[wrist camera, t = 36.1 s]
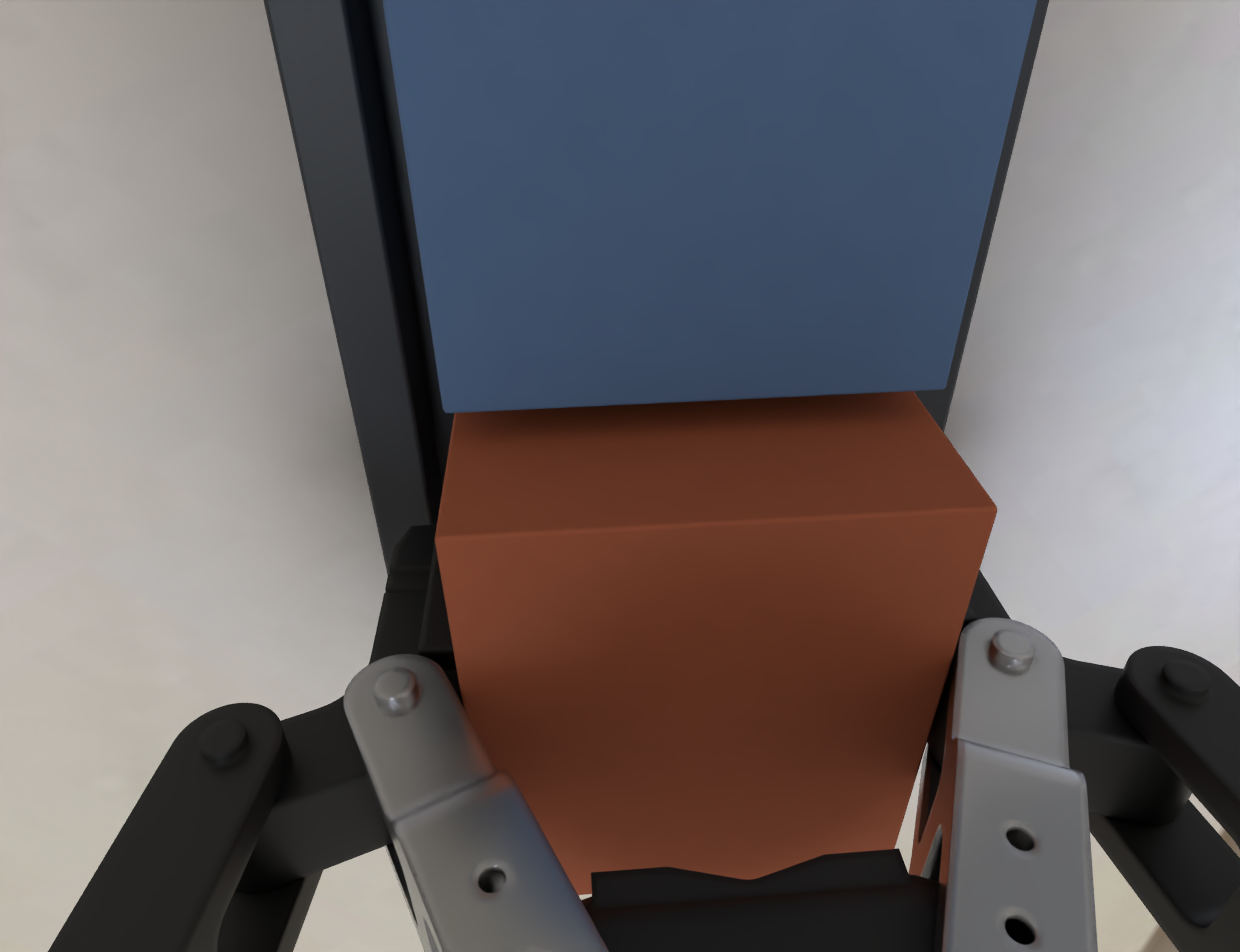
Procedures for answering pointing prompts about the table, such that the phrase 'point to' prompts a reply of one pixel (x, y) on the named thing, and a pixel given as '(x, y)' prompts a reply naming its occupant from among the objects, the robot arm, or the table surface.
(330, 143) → the frame
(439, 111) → the matte blue cube
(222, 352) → the table surface
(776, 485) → the matte reddish brown block
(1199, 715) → the robot arm
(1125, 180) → the table surface
